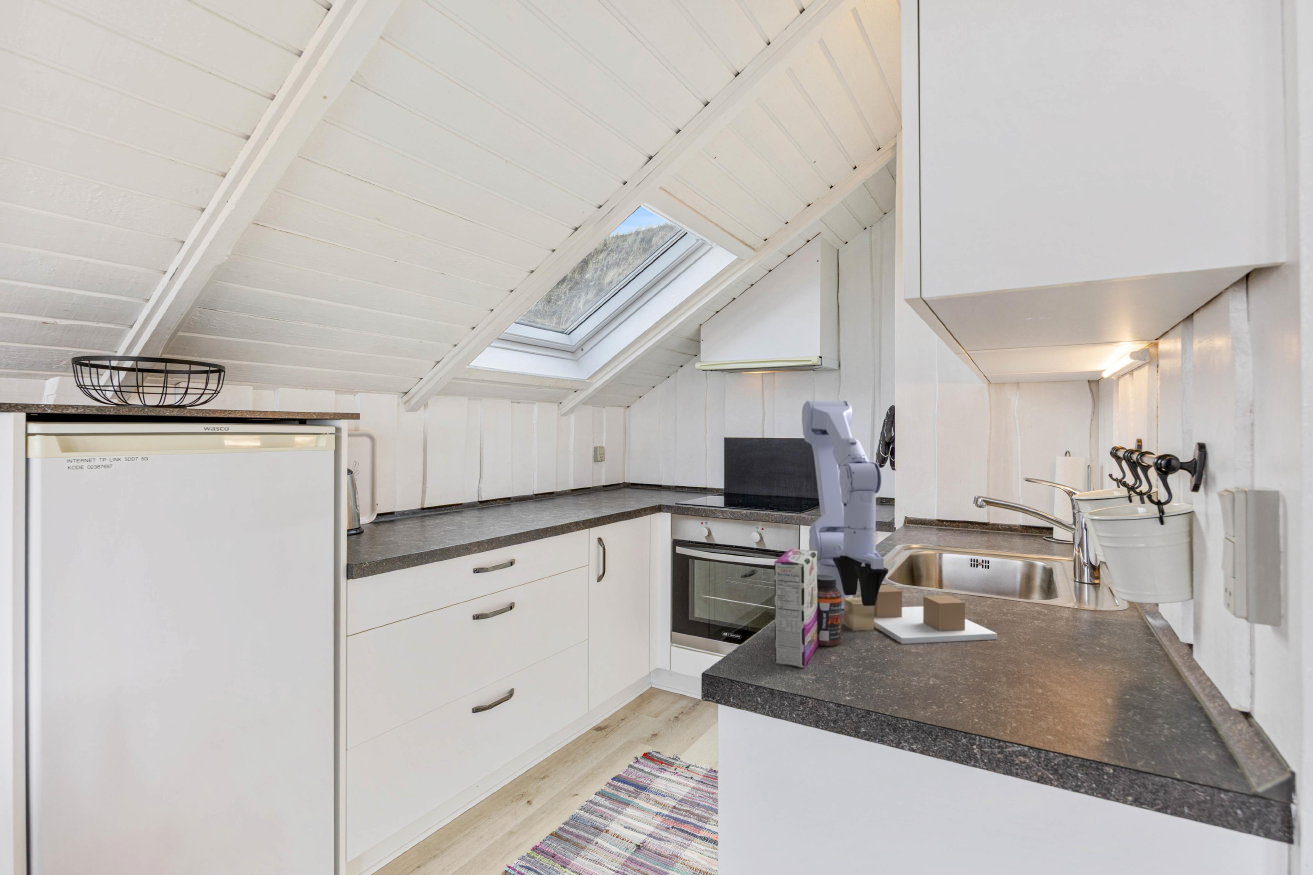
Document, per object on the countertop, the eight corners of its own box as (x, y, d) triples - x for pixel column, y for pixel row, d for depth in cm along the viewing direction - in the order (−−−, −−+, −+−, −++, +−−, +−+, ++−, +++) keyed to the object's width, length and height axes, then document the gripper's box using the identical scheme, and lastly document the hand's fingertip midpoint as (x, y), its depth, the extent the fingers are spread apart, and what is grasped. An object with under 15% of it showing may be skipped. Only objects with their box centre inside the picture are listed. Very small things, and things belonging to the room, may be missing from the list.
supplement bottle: (833, 649, 106) (833, 582, 106) (799, 642, 110) (800, 577, 110) (846, 640, 111) (846, 576, 111) (814, 634, 115) (814, 571, 115)
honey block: (843, 624, 121) (844, 598, 121) (863, 623, 121) (863, 597, 121) (853, 631, 117) (853, 603, 117) (874, 630, 117) (874, 603, 117)
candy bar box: (789, 642, 110) (789, 548, 110) (818, 647, 108) (819, 550, 108) (772, 664, 100) (773, 559, 100) (804, 669, 98) (805, 562, 97)
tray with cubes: (854, 614, 127) (854, 584, 127) (937, 610, 130) (937, 581, 130) (902, 643, 110) (902, 608, 109) (997, 639, 112) (997, 605, 112)
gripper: (823, 522, 125) (822, 591, 125) (857, 533, 111) (856, 611, 111) (856, 521, 126) (856, 589, 126) (894, 532, 112) (894, 609, 112)
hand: (859, 599), depth 119 cm, fingers open, 7 cm apart
